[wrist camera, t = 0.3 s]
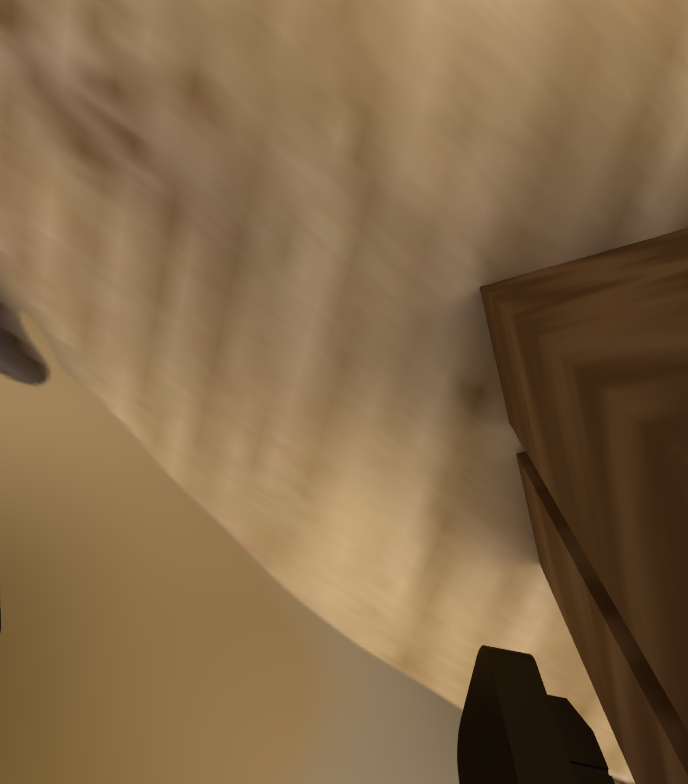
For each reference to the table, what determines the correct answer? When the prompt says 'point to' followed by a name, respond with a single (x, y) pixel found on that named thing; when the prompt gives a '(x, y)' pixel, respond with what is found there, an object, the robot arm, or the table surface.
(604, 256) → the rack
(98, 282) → the table surface
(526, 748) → the robot arm
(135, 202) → the table surface
